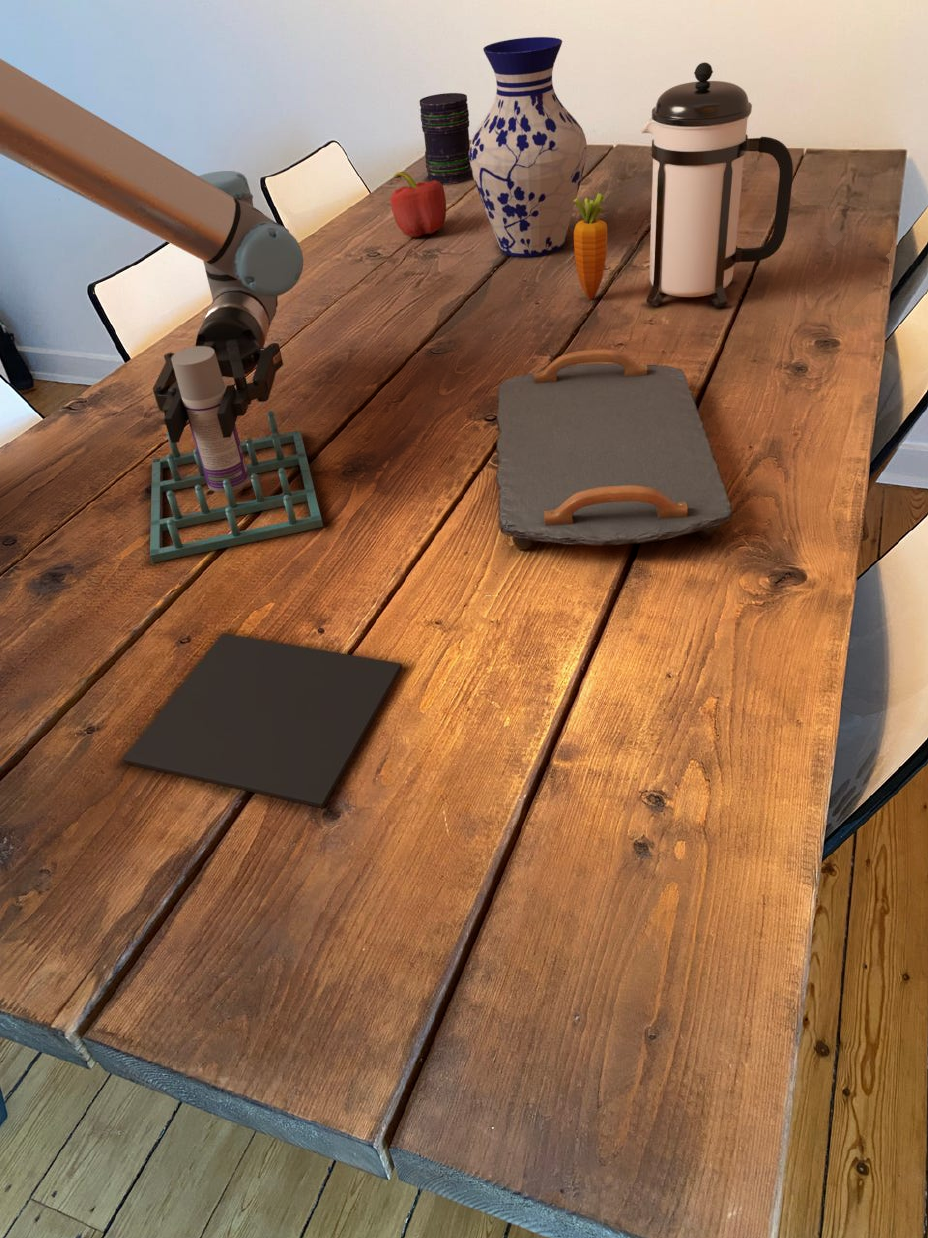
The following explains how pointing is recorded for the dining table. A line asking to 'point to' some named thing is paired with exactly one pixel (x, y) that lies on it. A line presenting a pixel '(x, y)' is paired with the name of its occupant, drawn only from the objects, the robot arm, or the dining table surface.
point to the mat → (267, 718)
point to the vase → (527, 150)
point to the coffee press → (704, 188)
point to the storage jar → (446, 137)
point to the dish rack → (230, 498)
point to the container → (209, 417)
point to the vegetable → (419, 206)
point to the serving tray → (604, 455)
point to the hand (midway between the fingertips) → (197, 427)
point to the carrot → (590, 245)
